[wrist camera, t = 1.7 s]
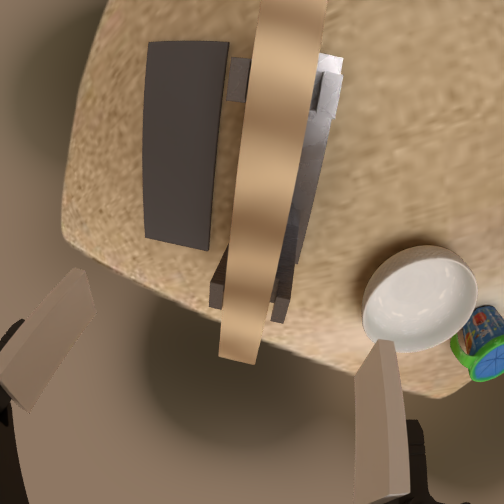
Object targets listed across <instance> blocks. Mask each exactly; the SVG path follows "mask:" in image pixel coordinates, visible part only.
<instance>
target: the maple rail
mask: <svg viewBox="0 0 504 504" xmlns="http://www.w3.org/2000/svg"><path fill="white" fill-rule="evenodd" d="M327 1H328V0H261V4H260V10H259V16H258V23H257V29H256V36H255V43H254V49H253V56H252V63H251V70H250V77H249V84H248V92H247V99H246V107H245V114H244V122H243V130H242V137H241V145H240V153H239V162H238V170H237V178H236V187H235V196H234V204H233V213H232V222H231V231H230V241H229V250H228V260H227V270H226V280H225V290H224V301H223V311H222V322H221V334H220V345H219V356H220V357H223V358H227V359H232V360H236V361H240V362H244V363H249V364H253V365H254V364H255V361H256V357H257V353H258V349H259V344H260V340H261V336H262V332H263V328H264V323H265V319H266V315H267V311H268V306H269V302H270V298H271V293H272V289H273V285H274V280H275V276H276V271H277V267H278V262H279V258H280V253H281V249H282V244H283V239H284V235H285V230H286V225H287V221H288V216H289V211H290V206H291V202H292V197H293V192H294V187H295V182H296V177H297V172H298V167H299V162H300V157H301V152H302V146H303V141H304V136H305V131H306V125H307V120H308V115H309V109H310V104H311V98H312V93H313V87H314V81H315V76H316V70H317V64H318V58H319V52H320V46H321V40H322V34H323V27H324V21H325V15H326V8H327Z"/></svg>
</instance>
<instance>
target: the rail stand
mask: <svg viewBox="0 0 504 504" xmlns="http://www.w3.org/2000/svg"><path fill="white" fill-rule="evenodd" d="M342 62H343V58H340V57H336V56H331V55H327V54H322V53H319V58H318V64H317V70H316V76H315V81H314V87H313V93H312V98H311V104H310V109H309V115H308V120H307V125H306V131H305V136H304V141H303V146H302V152H301V157H300V162H299V167H298V172H297V177H296V182H295V187H294V192H293V197H292V202H291V206H290V211H289V216H288V221H287V225H286V230H285V235H284V239H283V244H282V249H281V253H280V258H279V262H278V267H277V271H276V276H275V280H274V285H273V289H272V293H271V298H270V302H272V303H274V305H273V310H272V316H271V321H273V322H278V323H282V324H283V323H284V320H285V316H286V313H287V309H288V306H289V302H290V298H291V290H292V282H293V274H294V266H295V264H298V261H299V257H300V253H301V249H302V245H303V241H304V238H305V234H306V230H307V226H308V222H309V218H310V214H311V209H312V205H313V201H314V197H315V193H316V188H317V184H318V180H319V175H320V171H321V167H322V162H323V158H324V153H325V148H326V144H327V139H328V134H329V130H330V125H331V120H332V119H335V116H336V111H337V106H338V101H339V96H340V91H341V85H342V80H343V75H341V74H340V73H341V68H342ZM251 63H252V59H247V58H236V57H231V65H230V73H229V80H228V89H227V97H226V101H235V102H243V103H245V102H246V99H247V92H248V84H249V77H250V70H251ZM228 250H229V244H228V246H227V248H226V250H225V252H224V254H223V256H222V258H221V261H220V263H219V265H218V267H217V269H216V271H215V273H214V275H213V277H212V280H211V282H210V295H209V307H212V308H216V309H220V310H222V307H223V301H224V290H225V280H226V270H227V260H228Z"/></svg>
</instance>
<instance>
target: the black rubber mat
mask: <svg viewBox="0 0 504 504" xmlns="http://www.w3.org/2000/svg"><path fill="white" fill-rule="evenodd" d="M228 49H229V42H217V41H161V42H149V44H148V53H147V64H146V76H145V90H144V109H143V148H142V167H143V207H144V226H145V238H149V239H154V240H158V241H163V242H167V243H172V244H176V245H181V246H186V247H190V248H195V249H199V250H204V251H208V250H209V242H210V227H211V213H212V199H213V187H214V175H215V164H216V153H217V143H218V133H219V123H220V114H221V105H222V96H223V88H224V80H225V72H226V64H227V56H228Z"/></svg>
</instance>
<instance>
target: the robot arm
mask: <svg viewBox="0 0 504 504" xmlns="http://www.w3.org/2000/svg"><path fill="white" fill-rule="evenodd" d="M96 314H97V313H96V309H95V306H94V302H93V298H92V295H91V291H90V287H89V283H88V279H87V275H86V271H84V270H81V269H78V268H73V269H72V270H71V271H70V272H69V273H68V274H67V275H66V276H65V277H64V278H63V279H62V280H61V281H60V282H59V283H58V285H56V286H55V287H54V289H53V290H52V291H51V292H50V293H49V294H48V295H47V296H46V297H45V299H44V300H43V301H42V302H41V303H40V304H39V305H38V306H37V307H36V309H35V310H34V311H33V312H32V313H31V314H30V316H29V317H28V318H27V319H26V320H24V319H21V320H19V321H17V322H16V323H14V324H13V325H12V326H11V327H10V328H9V330H8V331H7V332H6V334H5V335H4V336H3V337H2V338H1V341H0V504H29V502H28V498H27V494H26V490H25V486H24V482H23V478H22V474H21V469H20V464H19V458H18V453H17V447H16V440H15V433H14V425H13V416H12V407H11V403H10V401H11V399H12V400H13V401H14V402H15V403H16V404H17V405H18V406H19V407H21V408H22V409H23V410H25V411H26V412H28V413H30V412H31V409H32V408H33V407H34V405H35V403H36V402H37V400H38V399H39V397H40V395H41V394H42V392H43V390H44V389H45V387H46V386H47V384H48V383H49V381H50V380H51V378H52V377H53V375H54V373H55V372H56V370H57V369H58V367H59V366H60V364H61V363H62V361H63V360H64V359H65V357H66V355H67V354H68V353H69V351H70V350H71V348H72V347H73V345H74V344H75V343H76V341H77V340H78V338H79V337H80V335H81V333H83V331H84V330H85V328H86V327H87V326H88V324H89V323H90V321H91V320H92V319H93V318H94V316H95V315H96ZM354 377H355V378H354V379H355V411H356V412H355V415H356V445H355V478H354V495H353V504H443V503H439V502H436V501H435V500H434V499H433V497H432V496H430V494H429V491H428V482H427V466H426V455H425V446H424V435H423V430H422V428H421V426H420V424H419V422H418V420H406V418H405V409H404V403H403V402H404V401H403V394H402V387H401V380H400V373H399V367H398V361H397V356H396V350H395V345H394V341H389V340H383V339H378V340H377V341H376V343H375V345H374V346H373V348H372V349H371V351H370V353H369V354H368V356H367V357H366V359H365V361H364V362H363V364H362V365H361V367H360V368H359V370H358V371H357V373H356V374H355V376H354ZM462 504H470V503H467V502H465V503H462Z"/></svg>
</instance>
